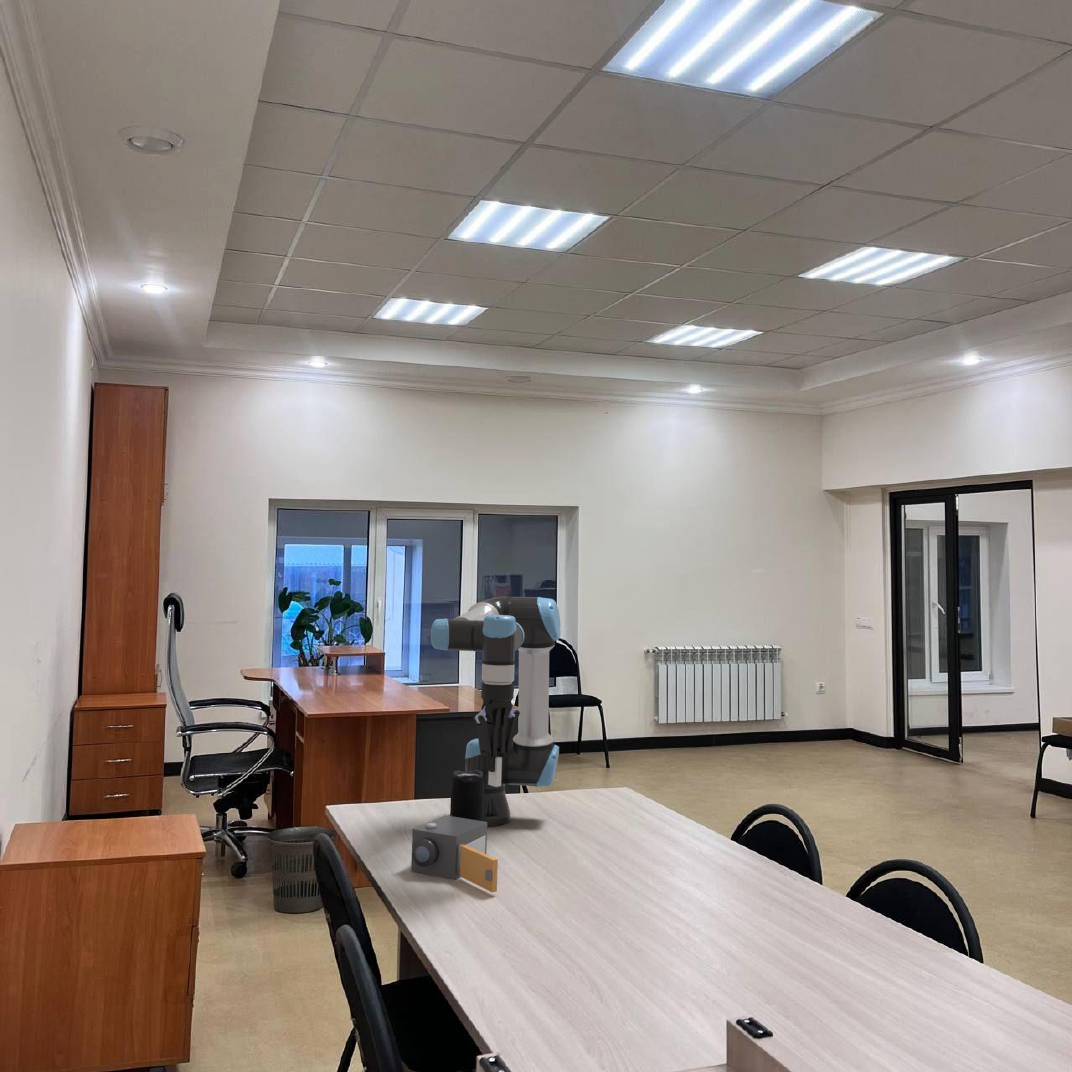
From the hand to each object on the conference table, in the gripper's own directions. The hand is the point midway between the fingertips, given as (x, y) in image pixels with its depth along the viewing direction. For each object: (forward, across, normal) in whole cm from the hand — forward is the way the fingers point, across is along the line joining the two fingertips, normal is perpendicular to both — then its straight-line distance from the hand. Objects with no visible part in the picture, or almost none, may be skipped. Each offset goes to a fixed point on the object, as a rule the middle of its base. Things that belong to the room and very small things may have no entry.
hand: (494, 785), depth 222 cm
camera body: (+23, +1, -15) cm, 27 cm away
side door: (+21, +5, -1) cm, 22 cm away
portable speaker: (+23, -13, -24) cm, 36 cm away
